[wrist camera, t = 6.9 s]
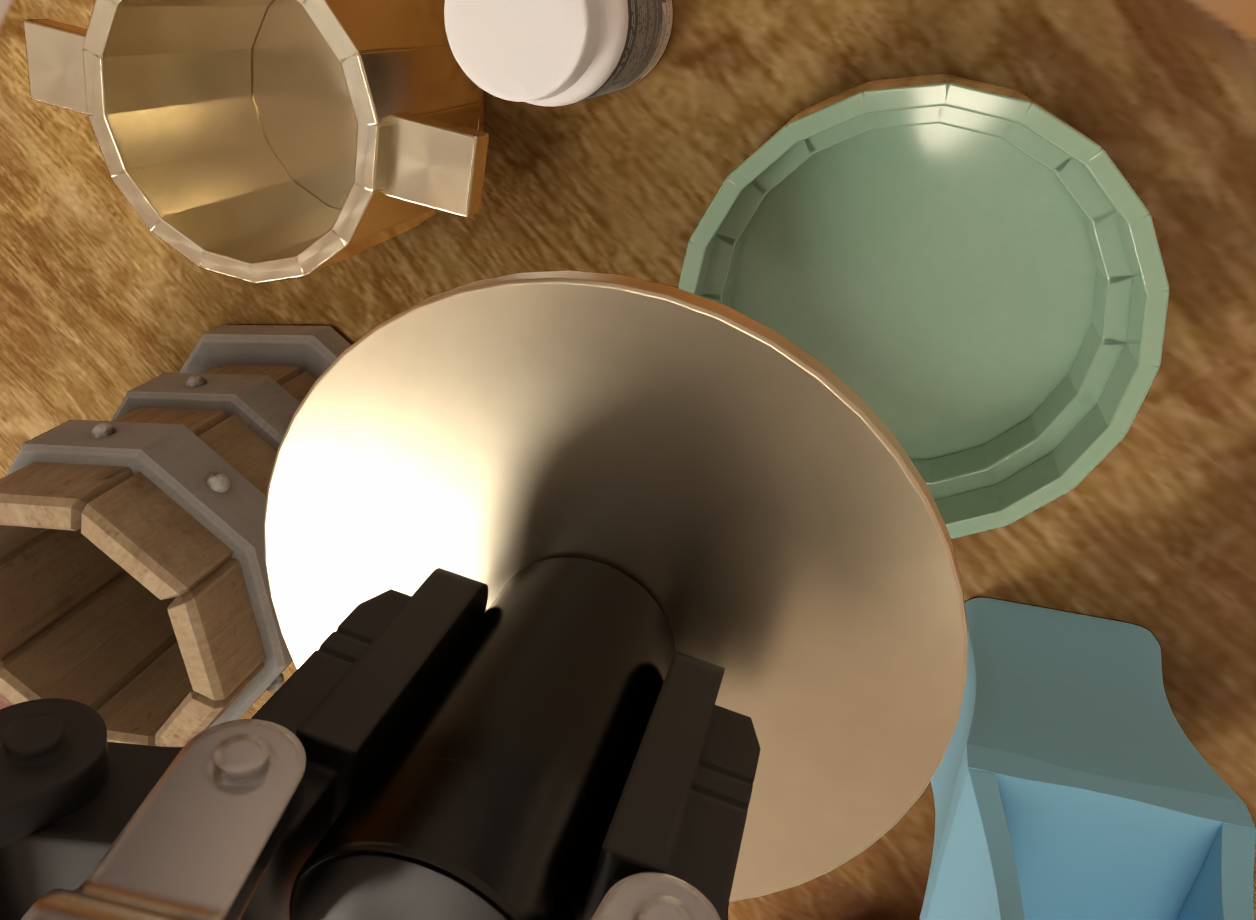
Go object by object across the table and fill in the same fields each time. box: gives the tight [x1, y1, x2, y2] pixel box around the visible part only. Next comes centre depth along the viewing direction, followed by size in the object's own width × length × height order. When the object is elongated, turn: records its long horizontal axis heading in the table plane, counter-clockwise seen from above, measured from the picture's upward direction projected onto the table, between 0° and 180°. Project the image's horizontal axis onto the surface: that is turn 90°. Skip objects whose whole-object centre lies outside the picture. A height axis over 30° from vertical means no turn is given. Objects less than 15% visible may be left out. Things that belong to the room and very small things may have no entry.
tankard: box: [0, 325, 351, 747], centre depth 37 cm, size 20×13×15 cm, turn 94°
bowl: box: [678, 74, 1170, 539], centre depth 31 cm, size 14×14×4 cm
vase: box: [920, 598, 1256, 920], centre depth 30 cm, size 8×8×20 cm
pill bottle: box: [444, 0, 673, 107], centre depth 28 cm, size 5×5×8 cm
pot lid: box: [264, 270, 968, 920], centre depth 12 cm, size 11×11×7 cm
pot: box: [24, 0, 489, 284], centre depth 32 cm, size 10×15×8 cm, turn 79°
